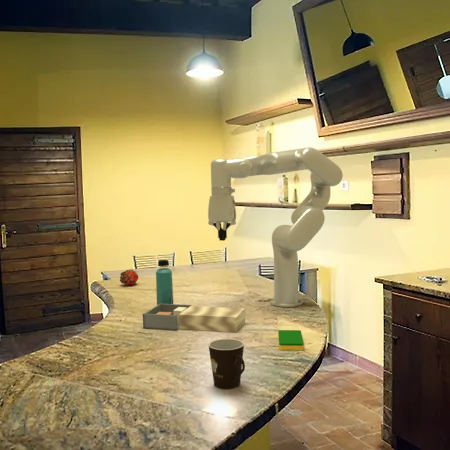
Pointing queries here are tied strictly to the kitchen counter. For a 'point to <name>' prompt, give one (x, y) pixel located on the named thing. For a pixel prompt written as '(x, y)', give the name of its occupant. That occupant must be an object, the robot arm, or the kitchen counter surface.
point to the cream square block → (178, 312)
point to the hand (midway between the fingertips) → (222, 240)
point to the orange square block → (165, 313)
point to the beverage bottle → (164, 284)
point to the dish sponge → (290, 340)
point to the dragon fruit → (129, 277)
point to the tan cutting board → (212, 319)
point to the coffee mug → (227, 362)
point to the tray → (161, 317)
